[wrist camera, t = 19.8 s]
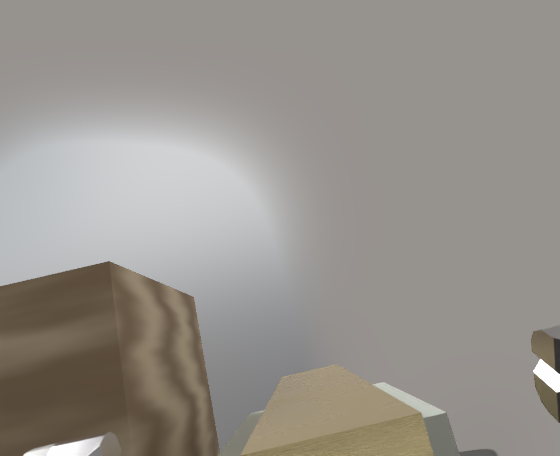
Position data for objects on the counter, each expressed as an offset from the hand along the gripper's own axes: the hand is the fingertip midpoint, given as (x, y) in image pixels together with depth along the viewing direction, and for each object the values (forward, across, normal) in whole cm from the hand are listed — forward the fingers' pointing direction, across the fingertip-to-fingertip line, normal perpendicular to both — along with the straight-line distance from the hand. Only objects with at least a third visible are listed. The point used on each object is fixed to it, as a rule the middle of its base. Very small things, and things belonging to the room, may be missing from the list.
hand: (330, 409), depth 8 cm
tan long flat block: (+9, 0, +8) cm, 13 cm away
